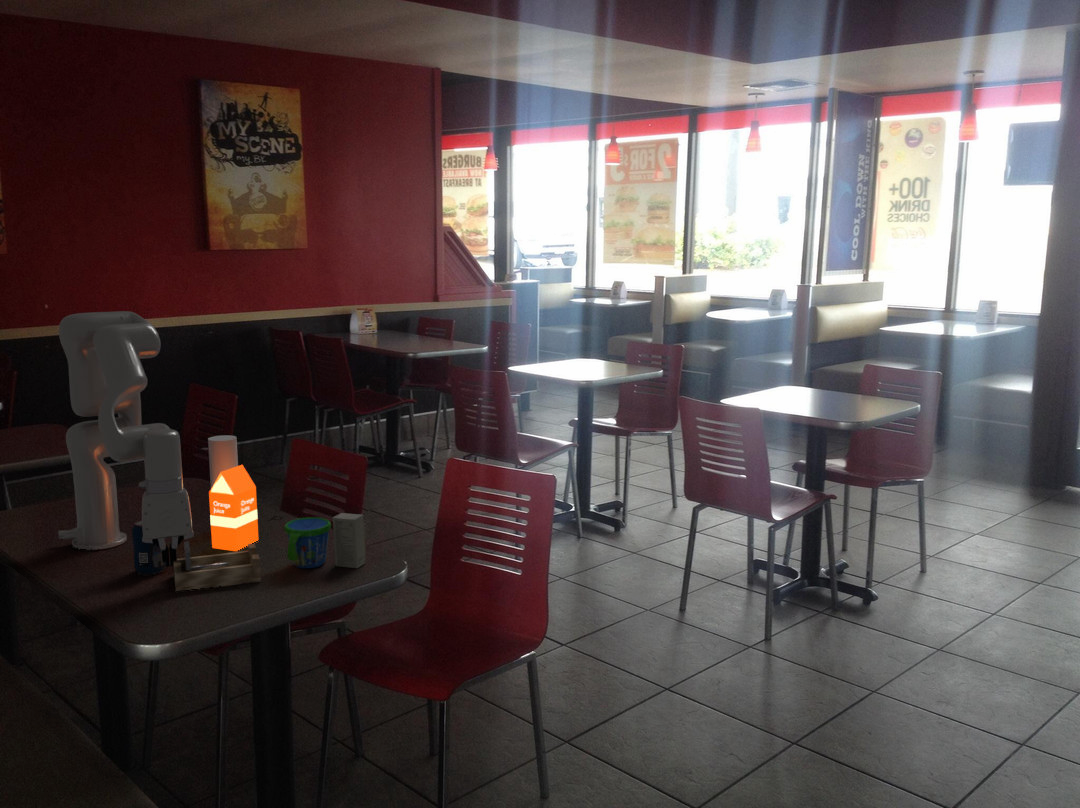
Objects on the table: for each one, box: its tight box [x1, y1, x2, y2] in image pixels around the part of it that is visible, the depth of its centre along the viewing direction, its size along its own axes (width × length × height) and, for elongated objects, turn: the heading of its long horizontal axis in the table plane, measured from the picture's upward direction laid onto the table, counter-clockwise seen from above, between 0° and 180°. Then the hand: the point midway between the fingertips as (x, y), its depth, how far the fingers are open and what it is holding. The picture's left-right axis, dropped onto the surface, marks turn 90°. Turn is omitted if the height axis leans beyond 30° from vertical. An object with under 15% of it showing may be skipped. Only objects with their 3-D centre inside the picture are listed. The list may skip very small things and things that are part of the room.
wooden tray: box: [173, 543, 262, 592], centre depth 211 cm, size 18×12×6 cm, turn 113°
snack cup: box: [283, 516, 332, 569], centre depth 221 cm, size 16×10×10 cm
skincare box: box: [332, 512, 367, 569], centre depth 220 cm, size 6×4×12 cm
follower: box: [183, 541, 228, 572], centre depth 210 cm, size 9×8×7 cm
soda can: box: [131, 518, 167, 575], centre depth 216 cm, size 7×7×12 cm
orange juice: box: [208, 464, 259, 552], centre depth 234 cm, size 8×9×20 cm
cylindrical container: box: [207, 434, 239, 490], centre depth 246 cm, size 7×7×25 cm
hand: (169, 564), depth 207 cm, fingers closed
